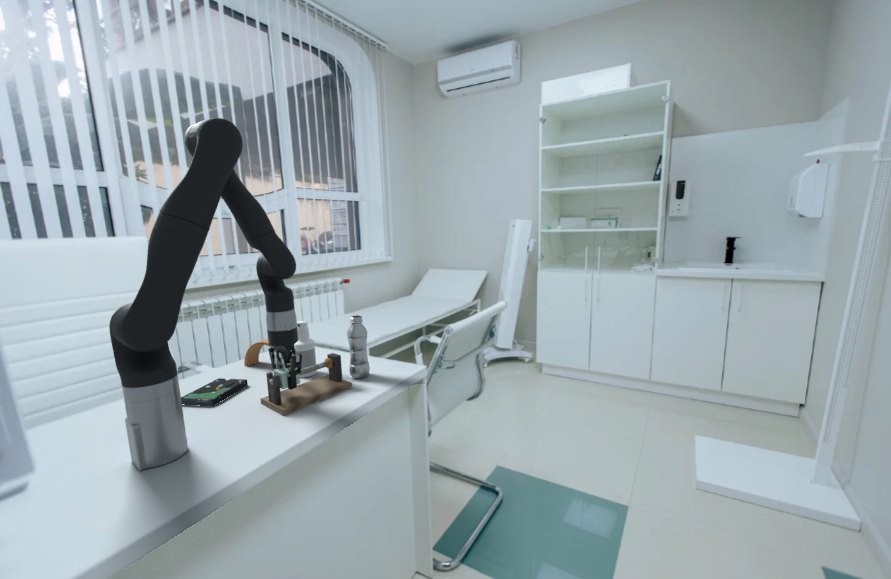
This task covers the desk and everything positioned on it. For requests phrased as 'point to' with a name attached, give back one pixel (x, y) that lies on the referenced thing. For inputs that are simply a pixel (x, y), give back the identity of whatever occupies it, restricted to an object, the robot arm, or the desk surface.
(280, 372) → the sleeve
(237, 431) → the desk surface
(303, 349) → the spray bottle
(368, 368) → the plastic bottle
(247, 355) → the arch
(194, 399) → the disk drive
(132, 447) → the robot arm
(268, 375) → the rod stand
